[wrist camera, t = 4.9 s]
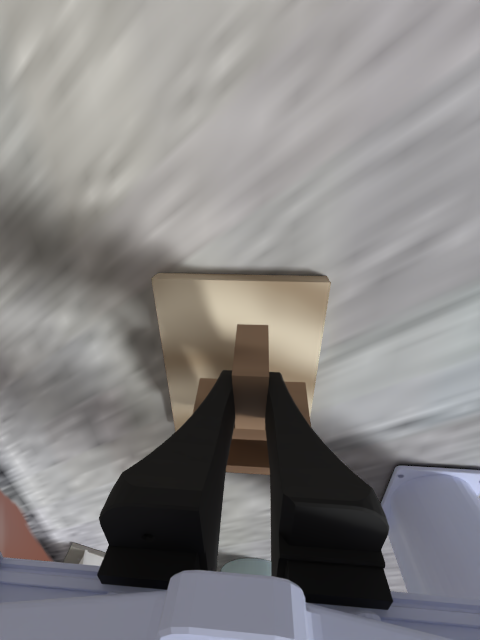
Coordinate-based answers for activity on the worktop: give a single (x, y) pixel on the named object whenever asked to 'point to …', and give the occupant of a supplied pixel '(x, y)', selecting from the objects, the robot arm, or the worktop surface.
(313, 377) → the birch board
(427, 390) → the worktop surface
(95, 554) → the skyscraper
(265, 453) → the walnut link
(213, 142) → the worktop surface
